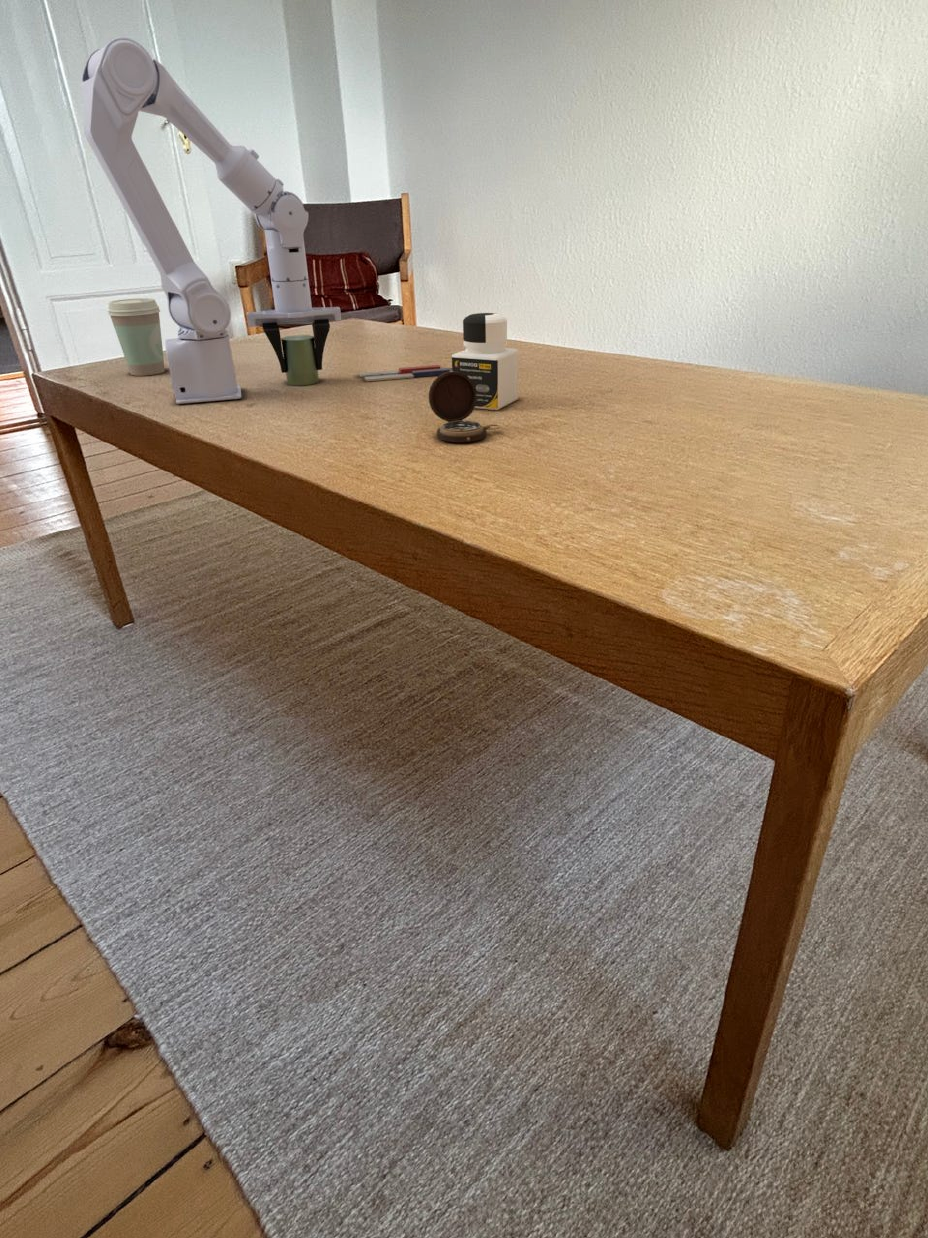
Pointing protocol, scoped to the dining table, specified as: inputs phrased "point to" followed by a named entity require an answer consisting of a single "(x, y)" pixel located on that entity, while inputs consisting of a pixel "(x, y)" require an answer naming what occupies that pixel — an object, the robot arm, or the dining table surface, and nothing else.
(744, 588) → the dining table surface
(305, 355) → the can
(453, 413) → the compass
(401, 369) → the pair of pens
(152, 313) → the coffee cup
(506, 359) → the medicine bottle
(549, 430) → the dining table surface
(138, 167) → the robot arm
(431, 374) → the knife
